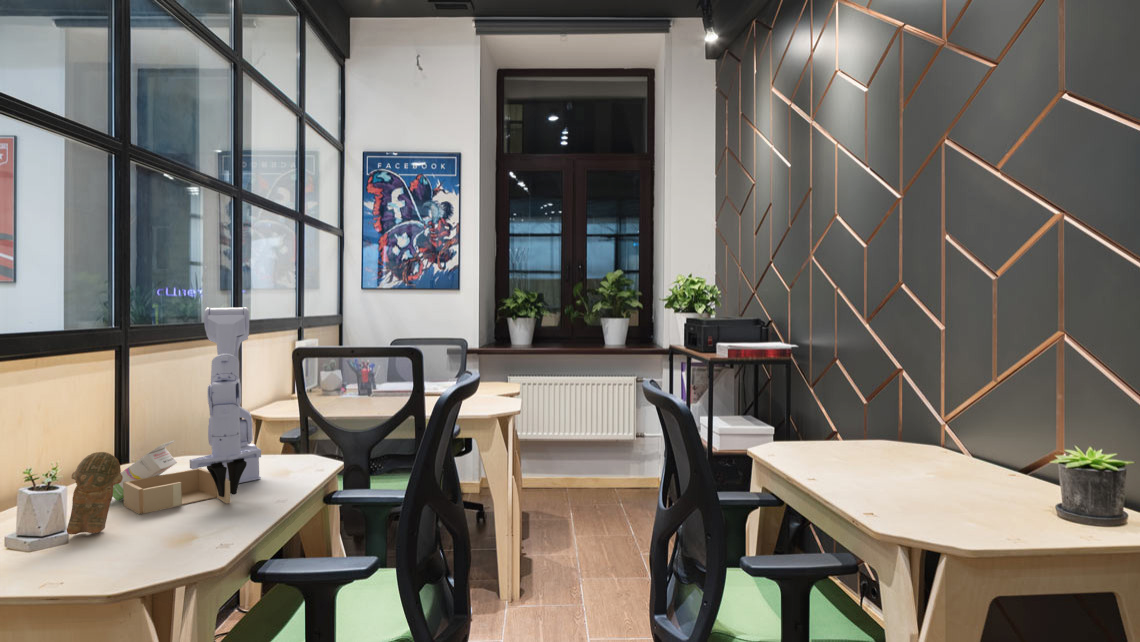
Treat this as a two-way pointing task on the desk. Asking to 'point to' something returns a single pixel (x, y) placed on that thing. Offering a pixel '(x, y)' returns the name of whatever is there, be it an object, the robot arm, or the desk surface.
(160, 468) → the ink box
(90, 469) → the figurine
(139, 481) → the carton
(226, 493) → the flap
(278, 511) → the desk surface
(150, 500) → the flap
